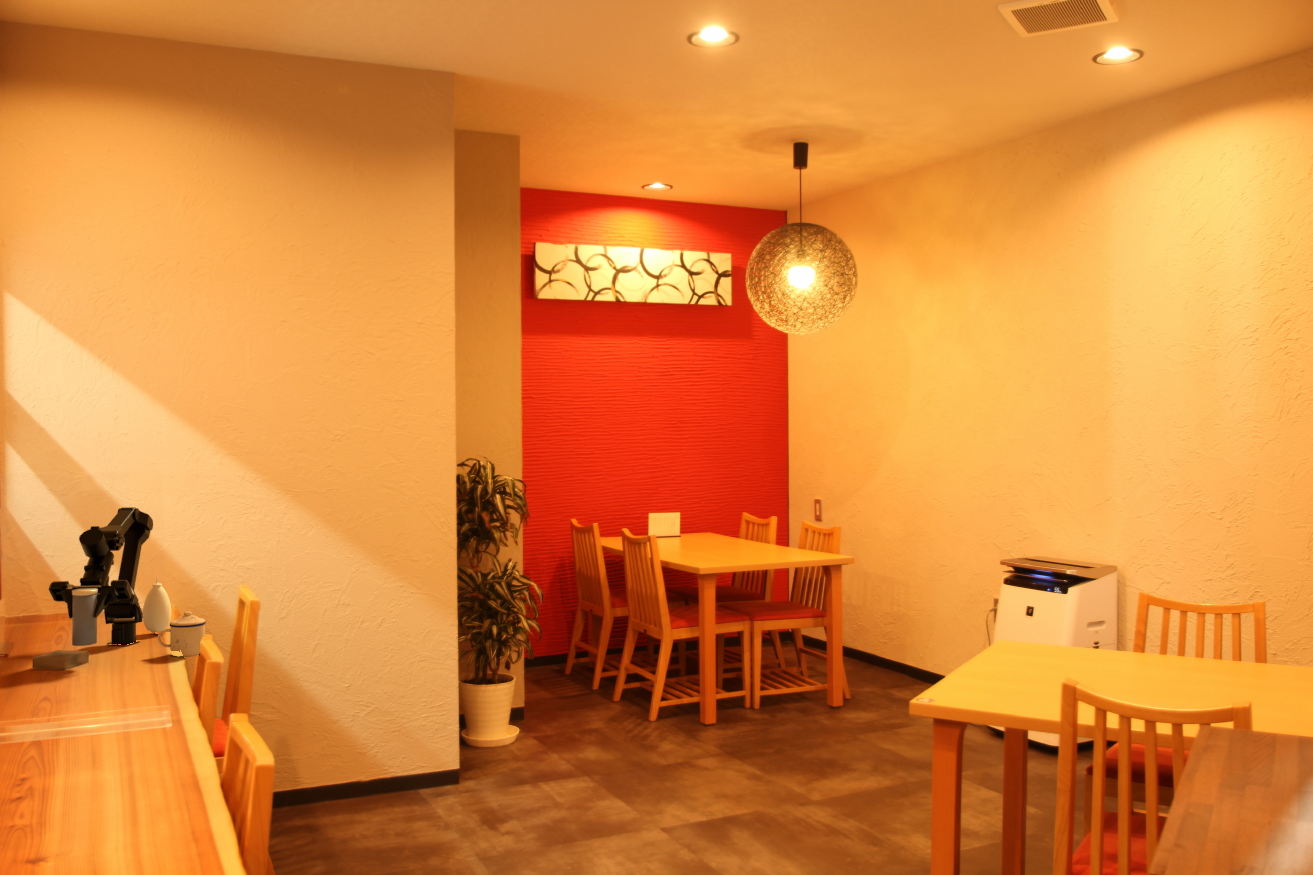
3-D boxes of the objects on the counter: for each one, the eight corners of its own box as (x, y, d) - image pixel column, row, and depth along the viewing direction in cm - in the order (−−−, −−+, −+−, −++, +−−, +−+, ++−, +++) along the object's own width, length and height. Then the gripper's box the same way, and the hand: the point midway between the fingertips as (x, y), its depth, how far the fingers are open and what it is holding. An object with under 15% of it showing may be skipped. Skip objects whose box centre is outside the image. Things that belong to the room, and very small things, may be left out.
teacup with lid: (204, 649, 280) (204, 608, 280) (206, 655, 272) (206, 613, 272) (157, 653, 274) (157, 611, 274) (157, 659, 266) (157, 616, 266)
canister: (85, 640, 260) (85, 587, 260) (102, 642, 259) (102, 588, 258) (66, 644, 255) (66, 590, 255) (83, 646, 253) (84, 592, 253)
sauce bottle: (143, 632, 303) (143, 574, 303) (171, 630, 306) (171, 572, 306) (141, 637, 296) (142, 577, 296) (170, 635, 299) (171, 576, 299)
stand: (57, 661, 264) (57, 649, 264) (88, 662, 263) (88, 650, 263) (32, 668, 255) (32, 657, 255) (64, 669, 254) (64, 658, 254)
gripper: (142, 585, 274) (128, 633, 263) (68, 587, 270) (51, 635, 259) (133, 561, 266) (119, 609, 255) (56, 562, 262) (39, 611, 251)
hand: (82, 617), depth 255 cm, fingers closed on canister, 6 cm apart
